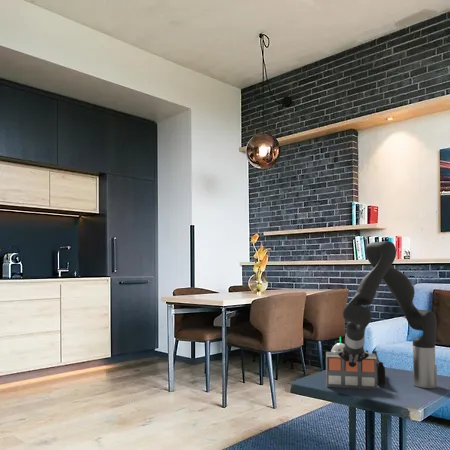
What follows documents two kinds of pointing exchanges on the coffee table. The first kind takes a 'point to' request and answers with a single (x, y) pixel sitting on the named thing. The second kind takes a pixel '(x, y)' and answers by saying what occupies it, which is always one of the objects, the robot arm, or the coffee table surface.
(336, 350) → the smoothie
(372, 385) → the dark grey block
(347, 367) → the switch
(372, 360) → the switch
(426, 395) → the coffee table surface
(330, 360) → the switch
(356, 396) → the coffee table surface
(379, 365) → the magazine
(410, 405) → the coffee table surface
